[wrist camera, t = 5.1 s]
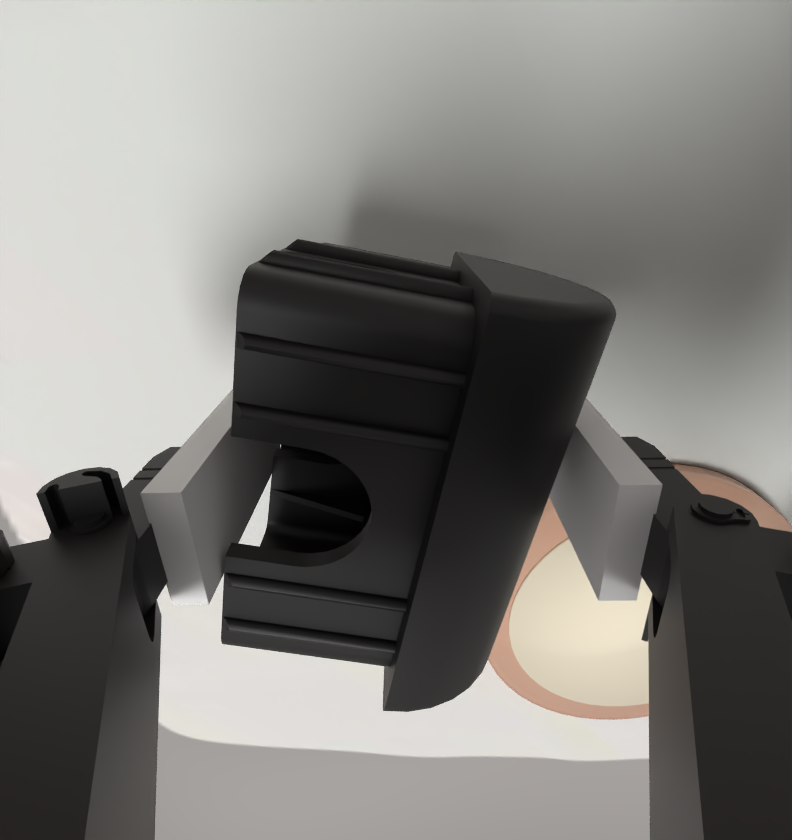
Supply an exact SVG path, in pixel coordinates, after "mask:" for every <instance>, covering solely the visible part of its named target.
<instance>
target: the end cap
mask: <svg viewBox="0 0 792 840" xmlns="http://www.w3.org/2000/svg"><path fill="white" fill-rule="evenodd" d="M615 318H616V310H615V308H614V306H613V304H612V303H611V301H610V300H609V299H608V298H607V297H605V296H604V295H602V294H600V293H599V292H596V291H594V290H592V289H590V288H588V287H585V286H582V285H579V284H577V283H574V282H571V281H568V280H565V279H562V278H559V277H556V276H553V275H549V274H546V273H542V272H539V271H535V270H532V269H528V268H524V267H520V266H516V265H512V264H508V263H504V262H500V261H496V260H491V259H487V258H482V257H478V256H473V255H468V254H463V253H458V252H455V254H454V257H453V261H452V265H451V267H447V266H443V265H438V264H433V263H428V262H422V261H417V260H412V259H407V258H402V257H397V256H391V255H386V254H381V253H376V252H371V251H366V250H361V249H355V248H350V247H345V246H340V245H335V244H330V243H316V242H310V241H305V240H300V239H297V240H296V241H294V242H293V243H292V244H290V245H289V246H288V247H286V248H284V249H282V250H281V251H277V250H273V251H272V252H270V253H269V254H268V255H266V256H265V257H264V258H263V259H261V260H260V261H258V262H256V263H254V264H252V265H250V266H249V267H248V268H247V269H246V271H245V273H244V275H243V278H242V282H241V285H240V290H239V295H238V304H237V319H236V340H235V361H234V382H233V402H232V423H231V436H233V437H239V438H245V439H251V440H257V441H263V442H269V443H275V444H281V449H277V450H276V452H275V454H274V458H273V469H272V480H271V491H270V502H269V513H268V523H267V528H266V532H265V535H264V537H263V540H262V542H261V545H260V547H258V546H251V545H244V544H238V543H231V545H230V547H229V549H228V551H227V553H226V555H225V569H224V590H223V610H222V631H221V642H222V644H228V645H235V646H242V647H249V648H257V649H264V650H271V651H278V652H286V653H293V654H300V655H308V656H315V657H322V658H329V659H337V660H344V661H351V662H359V663H366V664H373V665H380V666H384V690H383V711H404V712H409V711H415V710H421V709H427V708H432V707H434V706H437V705H439V704H442V703H444V702H447V701H449V700H452V699H454V698H455V697H456V696H458V695H459V694H461V693H462V692H464V691H465V690H466V689H468V688H469V687H470V686H471V685H472V683H473V682H474V681H475V680H476V679H477V677H478V676H479V675H480V674H481V673H482V671H483V669H484V667H485V664H486V662H487V660H488V658H489V656H490V653H491V650H492V648H493V645H494V642H495V640H496V637H497V634H498V632H499V629H500V626H501V624H502V621H503V618H504V615H505V613H506V610H507V607H508V605H509V602H510V599H511V597H512V594H513V591H514V589H515V586H516V583H517V581H518V578H519V575H520V573H521V570H522V567H523V565H524V562H525V559H526V557H527V554H528V551H529V549H530V546H531V543H532V541H533V538H534V535H535V533H536V530H537V527H538V524H539V522H540V519H541V516H542V514H543V511H544V508H545V506H546V503H547V500H548V498H549V495H550V492H551V490H552V487H553V484H554V482H555V479H556V476H557V474H558V471H559V468H560V466H561V463H562V460H563V458H564V455H565V452H566V450H567V447H568V444H569V442H570V439H571V436H572V433H573V431H574V428H575V425H576V423H577V420H578V417H579V415H580V412H581V409H582V407H583V404H584V401H585V399H586V396H587V393H588V391H589V388H590V385H591V383H592V380H593V377H594V375H595V372H596V369H597V367H598V364H599V361H600V359H601V356H602V353H603V351H604V348H605V345H606V342H607V340H608V337H609V334H610V332H611V329H612V326H613V324H614V321H615Z"/></svg>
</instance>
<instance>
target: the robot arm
mask: <svg viewBox="0 0 792 840" xmlns="http://www.w3.org/2000/svg"><path fill="white" fill-rule="evenodd" d="M232 402H233V390H232V391H231V392H230V393H229V394H228V395H227V396H226V397H225V399H224V400H223V401H222V402H221V403H220V404H219V405H218V406H217V408H216V409H215V410H214V411H213V412H212V413H211V414H210V415H209V416H208V418H207V419H206V420H205V421H204V422H203V423H202V424H201V425H200V427H199V428H198V429H197V430H196V431H195V432H194V433H193V434H192V436H191V437H190V438H189V439H188V440H187V441H186V442H185V443H184V445H183V446H182V447H170V448H168V449H167V450H165V451H163V452H161V453H160V454H158V455H156V456H154V457H153V458H152V459H151V460H150V461H149V462H148V463H147V464H146V465H145V466H144V467H143V468H142V471H139V472H138V474H137V475H136V476H135V477H134V478H133V480H131V481H130V482H129V483H128V484H127V485H126V486H125V487H124V488H122V485H121V482H120V478H119V475H118V472H117V471H115V470H113V469H111V468H101V467H97V468H88V469H82V470H78V471H75V472H71V473H68V474H65V475H63V476H60V477H58V478H56V479H54V480H52V481H51V482H49V483H47V484H46V485H44V486H43V487H42V488H41V489H40V490H39V491H38V493H37V497H38V499H39V502H40V504H41V507H42V510H43V512H44V515H45V517H46V520H47V522H48V525H49V527H50V530H51V534H50V537H49V539H46V540H41V541H37V542H32V543H27V544H22V545H17V546H12V547H9V544H8V542H7V540H6V538H5V535H4V533H3V531H2V530H0V840H154V838H155V837H154V836H155V805H156V771H157V739H158V709H159V677H160V645H161V613H160V610H159V607H158V603H157V600H156V599H157V598H158V596H159V595H160V593H161V591H162V590H163V588H164V586H165V585H166V584H167V588H168V591H169V594H170V598H171V601H172V605H209V603H210V601H211V599H212V597H213V595H214V593H215V591H216V588H217V586H218V584H219V582H220V580H221V578H222V576H223V574H224V569H225V555H226V553H227V551H228V549H229V547H230V545H231V543H239V541H240V538H241V536H242V534H243V532H244V530H245V528H246V526H247V524H248V522H249V520H250V518H251V516H252V514H253V511H254V509H255V507H256V505H257V503H258V501H259V499H260V497H261V495H262V493H263V491H264V489H265V486H266V484H267V482H268V480H269V478H270V476H271V474H272V469H273V458H274V454H275V452H276V450H277V449H281V448H280V444H275V443H269V442H263V441H257V440H251V439H245V438H239V437H233V436H231V423H232ZM665 458H666V457H665V456H664V455H663V454H662V453H661V452H660V451H659V450H658V449H657V448H656V447H655V446H653V445H651V444H649V443H647V442H645V441H644V440H642V439H640V438H638V437H620V436H619V435H618V434H617V433H616V431H615V430H614V429H613V428H612V427H611V426H610V425H609V423H608V422H607V421H606V420H605V419H604V418H603V417H602V416H601V414H600V413H599V412H598V411H597V410H596V409H595V408H594V407H593V405H592V404H591V403H590V402H589V401H588V400H587V399H585V401H584V404H583V407H582V409H581V412H580V415H579V417H578V420H577V423H576V425H575V428H574V431H573V433H572V436H571V439H570V442H569V444H568V447H567V450H566V452H565V455H564V458H563V460H562V463H561V466H560V468H559V471H558V474H557V476H556V479H555V482H554V484H553V487H552V490H551V492H550V495H549V498H550V500H551V502H552V504H553V506H554V508H555V510H556V512H557V514H558V516H559V519H560V521H561V523H562V525H563V527H564V529H565V531H566V533H567V535H568V538H569V540H570V542H571V544H572V546H573V548H574V550H575V552H576V554H577V557H578V559H579V561H580V563H581V565H582V567H583V569H584V571H585V573H586V575H587V578H588V580H589V582H590V584H591V586H592V588H593V590H594V592H595V594H596V597H597V599H598V601H637V597H638V592H639V588H640V583H641V579H642V578H643V580H644V581H645V583H646V584H647V586H648V588H649V589H650V591H651V592H652V597H651V601H650V606H649V610H648V614H647V618H646V622H645V626H644V631H643V635H642V639H641V640H643V641H646V642H648V660H649V766H650V767H649V769H650V770H649V772H650V773H649V774H650V840H792V532H789V531H783V530H777V529H771V528H765V527H761V526H759V523H758V521H757V519H756V518H755V517H754V515H753V514H752V513H751V512H750V511H748V510H747V509H746V508H744V507H743V506H741V505H739V504H737V503H735V502H733V501H730V500H728V499H726V498H722V497H718V496H714V495H710V494H701V493H700V492H699V491H698V490H697V489H696V488H695V487H694V486H693V485H692V484H691V483H690V482H689V481H688V480H687V479H686V478H685V477H684V476H683V475H682V474H681V473H680V472H679V471H678V469H675V466H674V465H673V464H672V463H671V462H670V461H669V460H666V459H665Z"/></svg>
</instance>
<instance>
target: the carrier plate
mask: <svg viewBox="0 0 792 840" xmlns="http://www.w3.org/2000/svg"><path fill="white" fill-rule="evenodd" d="M673 465H674V466H675V469H678V471H679V472H680V473H681V474H682V475H683V476H684V477H685V478H686V479H687V480H688V481H689V482H690V483H691V484H692V485H693V486H694V487H695V488H696V489H697V490H698V491H699V492H700V493H701V494H710V495H714V496H718V497H722V498H726V499H728V500H730V501H733V502H735V503H737V504H739V505H741V506H743V507H744V508H746V509H747V510H748V511H750V512H751V513H752V514H753V515H754V517H755V518H756V519H757V521H758V523H759V526H761V527H765V528H771V529H777V530H783V531H789V532H792V527H791V525H790V524H789V523H788V521H787V520H786V519H785V518H784V517H783V516H782V515H781V514H779V513H778V512H777V511H776V510H775V509H774V508H773V507H772V506H771V505H769V504H768V503H767V502H766V501H765V500H763V499H762V498H761V497H760V496H759V495H757V494H756V493H755V492H754V491H752V490H751V489H749V488H748V487H746V486H745V485H743V484H742V483H740V482H739V481H737V480H734V479H732V478H730V477H728V476H725V475H723V474H721V473H718V472H714V471H711V470H707V469H704V468H700V467H693V466H687V465H680V464H673ZM651 597H652V592H651V591H650V589H649V588H648V586H647V584H646V583H645V581H644V580H643V578H642V579H641V583H640V588H639V592H638V597H637V601H598V599H597V597H596V594H595V592H594V590H593V588H592V586H591V584H590V582H589V580H588V578H587V575H586V573H585V571H584V569H583V567H582V565H581V563H580V561H579V559H578V557H577V554H576V552H575V550H574V548H573V546H572V544H571V542H570V540H569V538H568V535H567V533H566V531H565V529H564V527H563V525H562V523H561V521H560V519H559V516H558V514H557V512H556V510H555V508H554V506H553V504H552V502H551V500H550V498H548V500H547V503H546V506H545V508H544V511H543V514H542V516H541V519H540V522H539V524H538V527H537V530H536V533H535V535H534V538H533V541H532V543H531V546H530V549H529V551H528V554H527V557H526V559H525V562H524V565H523V567H522V570H521V573H520V575H519V578H518V581H517V583H516V586H515V589H514V591H513V594H512V597H511V599H510V602H509V605H508V607H507V610H506V613H505V615H504V618H503V621H502V624H501V626H500V629H499V632H498V634H497V637H496V640H495V642H494V645H493V648H492V650H491V653H490V656H489V658H488V660H489V662H490V664H491V666H492V667H493V669H494V670H495V672H496V673H497V675H498V676H499V677H500V678H501V679H502V680H503V681H504V682H505V684H506V685H507V686H509V687H510V688H511V689H512V690H514V691H515V692H516V693H517V694H519V695H520V696H522V697H523V698H525V699H527V700H528V701H530V702H532V703H534V704H536V705H538V706H541V707H543V708H545V709H548V710H551V711H554V712H558V713H561V714H565V715H570V716H575V717H580V718H590V719H613V720H615V719H630V718H638V717H645V716H649V660H648V642H646V641H643V640H641V639H642V635H643V631H644V626H645V622H646V618H647V614H648V610H649V606H650V601H651Z"/></svg>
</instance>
